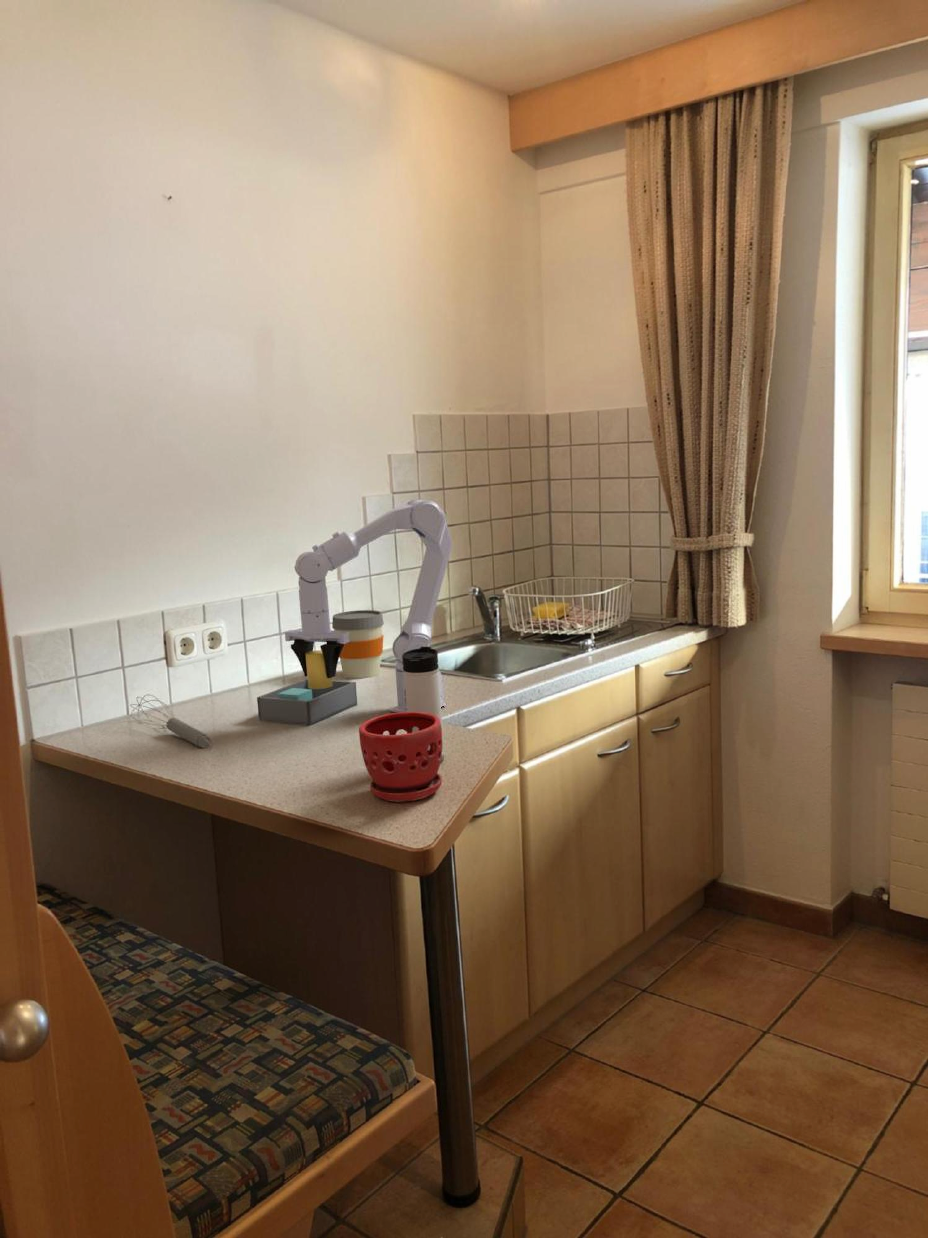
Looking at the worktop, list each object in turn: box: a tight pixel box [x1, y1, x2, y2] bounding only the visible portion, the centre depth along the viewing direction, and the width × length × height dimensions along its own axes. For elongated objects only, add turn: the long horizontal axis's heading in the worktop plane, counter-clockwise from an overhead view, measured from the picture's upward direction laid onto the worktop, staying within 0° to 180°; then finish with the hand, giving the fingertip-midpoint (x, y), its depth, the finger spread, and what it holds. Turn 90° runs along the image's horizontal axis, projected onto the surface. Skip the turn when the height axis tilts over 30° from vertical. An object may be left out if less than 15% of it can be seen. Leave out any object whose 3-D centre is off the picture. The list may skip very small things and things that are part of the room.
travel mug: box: [402, 646, 445, 763], centre depth 179 cm, size 6×7×20 cm
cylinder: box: [305, 649, 333, 689], centre depth 209 cm, size 5×5×7 cm
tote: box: [256, 678, 358, 726], centre depth 217 cm, size 17×13×5 cm
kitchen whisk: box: [130, 694, 212, 750], centre depth 206 cm, size 6×34×6 cm, turn 40°
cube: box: [278, 688, 313, 701], centre depth 214 cm, size 5×5×5 cm
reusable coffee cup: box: [331, 609, 385, 680], centre depth 250 cm, size 13×13×15 cm
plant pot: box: [358, 712, 444, 803], centre depth 163 cm, size 13×13×12 cm
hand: (320, 676), depth 209 cm, fingers closed on cylinder, 5 cm apart
